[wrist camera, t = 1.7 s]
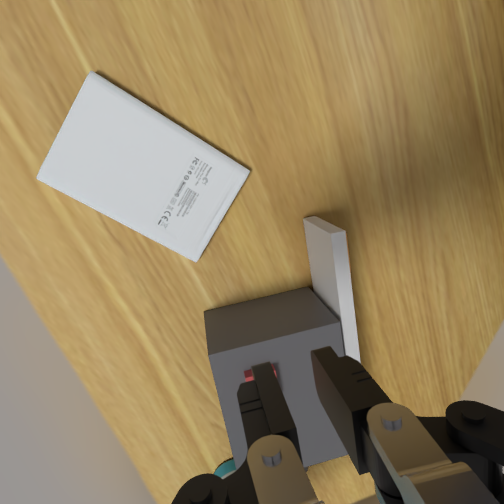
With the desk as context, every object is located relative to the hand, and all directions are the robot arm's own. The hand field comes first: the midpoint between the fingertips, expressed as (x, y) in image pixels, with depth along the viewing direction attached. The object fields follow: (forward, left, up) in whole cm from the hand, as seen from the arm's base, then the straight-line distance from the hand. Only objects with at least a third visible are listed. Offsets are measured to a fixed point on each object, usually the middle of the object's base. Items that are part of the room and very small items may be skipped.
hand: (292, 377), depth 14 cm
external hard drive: (-8, -5, -18) cm, 20 cm away
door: (+7, +7, -17) cm, 19 cm away
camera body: (+11, +1, -17) cm, 20 cm away
